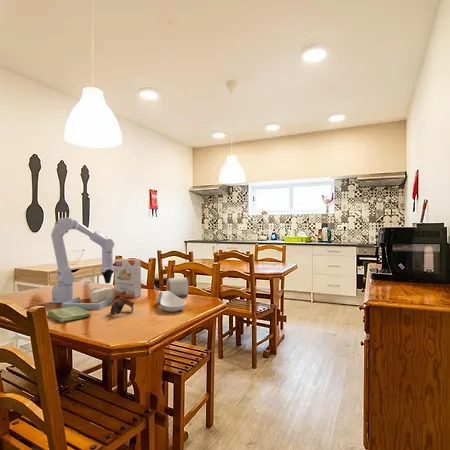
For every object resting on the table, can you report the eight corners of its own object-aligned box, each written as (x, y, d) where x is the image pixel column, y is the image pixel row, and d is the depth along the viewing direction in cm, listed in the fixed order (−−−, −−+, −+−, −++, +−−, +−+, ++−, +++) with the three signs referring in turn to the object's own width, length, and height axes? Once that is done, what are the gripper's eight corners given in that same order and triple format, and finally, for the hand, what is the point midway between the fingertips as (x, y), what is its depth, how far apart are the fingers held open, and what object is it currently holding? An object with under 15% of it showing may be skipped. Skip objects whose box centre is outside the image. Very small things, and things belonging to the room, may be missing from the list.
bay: (61, 309, 150) (61, 304, 150) (77, 301, 166) (77, 296, 166) (99, 309, 150) (99, 303, 150) (112, 301, 165) (112, 296, 165)
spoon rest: (190, 311, 144) (190, 296, 144) (165, 315, 138) (165, 299, 138) (171, 301, 164) (171, 287, 165) (149, 304, 159) (149, 290, 159)
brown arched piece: (110, 312, 146) (120, 295, 148) (129, 321, 146) (138, 304, 148) (104, 311, 135) (114, 294, 137) (124, 321, 134) (133, 303, 137)
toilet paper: (170, 298, 171) (170, 279, 172) (167, 294, 181) (167, 277, 181) (188, 296, 175) (188, 278, 175) (184, 293, 184) (184, 276, 184)
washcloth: (61, 325, 127) (61, 317, 127) (45, 317, 139) (45, 309, 139) (93, 318, 136) (93, 310, 136) (76, 311, 148) (76, 304, 148)
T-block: (83, 302, 165) (83, 292, 165) (93, 297, 177) (93, 288, 177) (106, 301, 165) (106, 292, 165) (114, 296, 177) (114, 287, 177)
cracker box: (114, 296, 177) (113, 259, 178) (121, 294, 183) (121, 258, 183) (134, 298, 172) (134, 260, 172) (141, 296, 178) (141, 258, 178)
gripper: (109, 260, 175) (109, 285, 175) (118, 258, 189) (119, 280, 189) (96, 260, 175) (97, 285, 175) (107, 258, 189) (107, 281, 189)
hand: (107, 283), depth 182 cm, fingers closed
